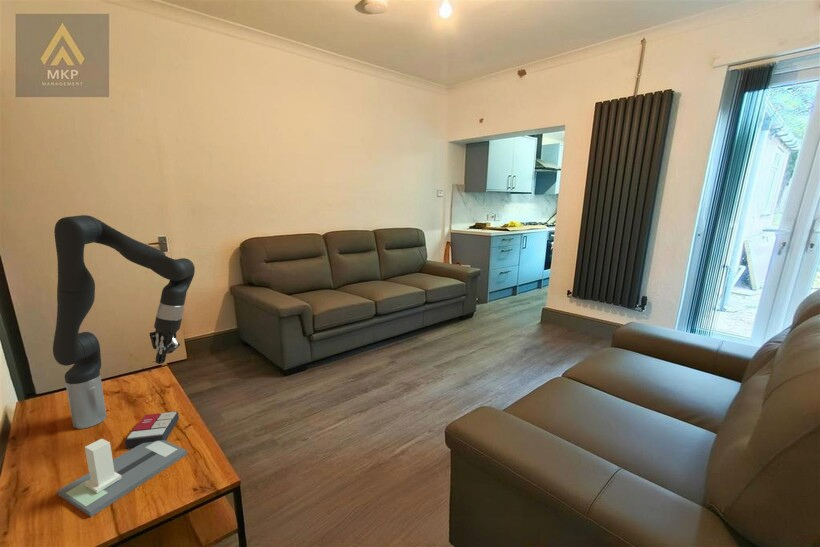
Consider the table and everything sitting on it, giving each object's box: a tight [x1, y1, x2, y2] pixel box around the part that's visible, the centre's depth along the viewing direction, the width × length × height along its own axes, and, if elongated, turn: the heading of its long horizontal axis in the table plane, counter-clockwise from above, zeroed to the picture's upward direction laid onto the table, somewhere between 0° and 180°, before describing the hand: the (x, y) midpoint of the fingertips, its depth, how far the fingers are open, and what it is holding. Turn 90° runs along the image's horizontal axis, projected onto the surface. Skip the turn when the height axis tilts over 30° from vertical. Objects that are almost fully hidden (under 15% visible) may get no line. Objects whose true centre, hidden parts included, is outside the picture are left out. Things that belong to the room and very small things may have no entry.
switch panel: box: [56, 440, 188, 518], centre depth 108 cm, size 16×26×2 cm, turn 156°
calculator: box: [124, 411, 180, 450], centre depth 126 cm, size 11×4×15 cm
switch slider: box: [84, 438, 122, 493], centre depth 101 cm, size 6×6×12 cm
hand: (159, 362), depth 125 cm, fingers closed
